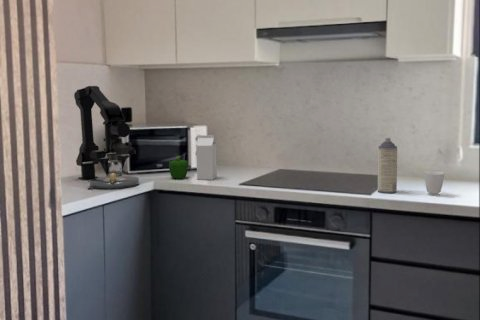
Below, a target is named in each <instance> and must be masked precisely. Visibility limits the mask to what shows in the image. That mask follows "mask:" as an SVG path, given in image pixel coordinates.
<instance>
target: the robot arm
mask: <svg viewBox="0 0 480 320" xmlns="http://www.w3.org/2000/svg"><path fill="white" fill-rule="evenodd" d="M73 96H74V100H75V105H76V106H77V107H78V109H79V112H80V125H81V138H82V139H81V140H82V142H81V144H80V146H79V149H78V152H79V153H78V155H77V157H76V159H75V163H76V166H80V173H81V176H78V179H80V180H92V179H95V178H99V176H96V166H95V165H99V164H100V166H101V167H102V169H103V171H104V173H105V175H106V174H108V161H110V158H109V157H108V156H115V155H116V158H117V161H122V171H124V166H125V164H126V161H127V160H128V158H130V157H131V156H132V155H136V149H135V148H134V147H132V146H133V144H132V142H131V141H127V142H123V140H122V138H127V137H128V136H129V135H130V134H131V128H130V126H129V125H128V124H127V123H126V118H125V115H124V113H123V111H122V108H121V107H120V106H119V104H117V103H115V102H113V101H111V100H109V99H108V98H107V96H106V95H105V94H104V93H103V92H102V90H101V89H100V87H99V85H87V86H85V87H83V88H80V89H77V90H76V91H74V94H73ZM95 104H96V105H97V107H98V108H99V111H100V112H99V114H100V116H101V118H102V119H103V120H104V121H103V122H102V125H104V137H105V138H103V142H105V148H103V150H99V149H100V148H99V145H97V144H96V143H95V140H94V128H93V127H94V125H93V113H92V109H93V107H94V105H95Z"/></svg>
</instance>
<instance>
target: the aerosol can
mask: <svg viewBox="0 0 480 320" xmlns="http://www.w3.org/2000/svg"><path fill="white" fill-rule="evenodd" d="M377 157H378V158H377V193H380V194H386V195H388V194H396V193H397V192H398V191H397V187H398V185H397V184H398V146H396V145H395V143H394V142H392V141H391V137H385V139H384V141H383V142H382V143H381V144H380V145H378V149H377Z"/></svg>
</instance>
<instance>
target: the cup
mask: <svg viewBox="0 0 480 320" xmlns="http://www.w3.org/2000/svg"><path fill="white" fill-rule="evenodd" d="M423 175H424V182H425V183H424V185H425V188H426V192H427V194H426V195H428V196H430V197H439V196H441V194H440V193H441V191H442V188H443V183H444V179H445V172H442V171H433V170H432V171H430V170H429V171H424V172H423Z"/></svg>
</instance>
